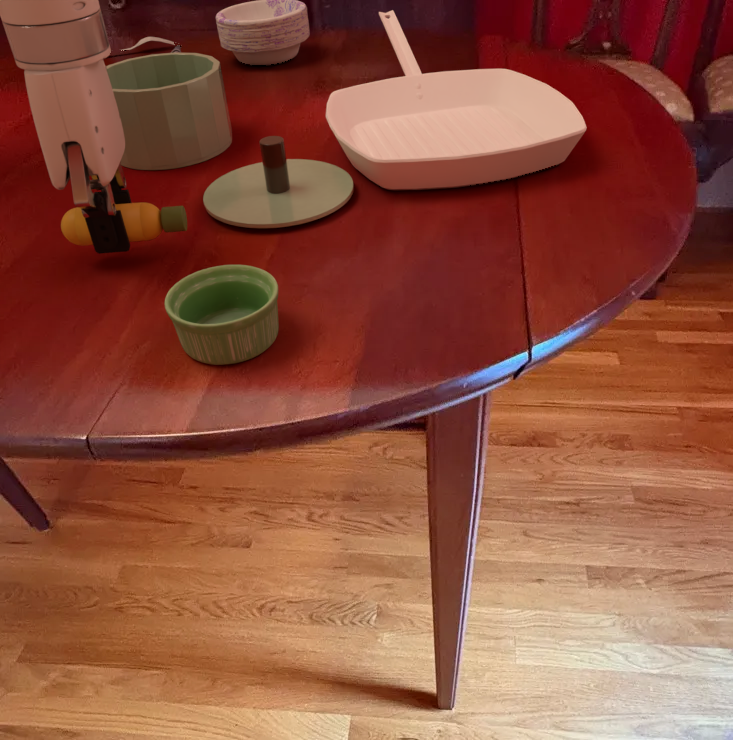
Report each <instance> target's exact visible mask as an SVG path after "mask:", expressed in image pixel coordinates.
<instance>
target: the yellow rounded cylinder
mask: <svg viewBox="0 0 733 740" xmlns="http://www.w3.org/2000/svg"><path fill="white" fill-rule="evenodd" d="M115 206H116V210H121V214H122V217H123V221H124V225H125V228H126V232H127V235H128V239H129V242H130V243H135V242H146V241H147V242H148V241H152V240H154V239H156V238H158V237H159V236H160V235H161V234H162V232H164V233H165V234H168V233H179V232H180V233H181V232H186V231H188V218H187V211H186V209H185V206H184V205H172V206H162V207H161V209H159V207H157V206H156V205H154V204H153V203H150V202H145V201H144V202H132V203H127V204H115ZM60 229H61V232H62V235H63V237H64V238H65V239H66V240H67V241H68V242H69V243H71V244H73V245H75V246H81V247H83V246H84V247H85V246H93V243H92V239H91V236H90V233H89V230H88V227H87V224H86V221H85V218H84V217H83V214H82V211H81V208H78V207H73V208H71V209H69V210H67V211H66V212H65V213H64V215H63V216H62V218H61V220H60Z"/></svg>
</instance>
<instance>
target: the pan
mask: <svg viewBox="0 0 733 740" xmlns="http://www.w3.org/2000/svg"><path fill="white" fill-rule="evenodd" d="M378 16H379V18H380V20H381V22H382V25H383V27H384V29H385V32H386V34H387V36H388V39H389V41H390V44H391V46H392V48H393V50H394V53H395V55H396V57H397V59H398V62H399V65H400V67H401V69H402V71H403V74H404V75H403V76H398V77H397V76H396V77H391V78H386V79H385V78H384V79H381V80H375V81H371V82H367V83H362V84H356V85H352V86H349V87H344V88H340V89H336V90H334V91H332V92H331V93H330V94H329V97H328V100H327V102H326V106H325V107H326V108H325V119H326V122H327V123H328V125H329V128H330V130H331V132H332V133H333V135H334V136H335V138H336V140H337V142H338V144H339V146H340V147H341V149H342V151H343V152H344V154H345V156H346V157H347V159H348V160H349V162H350V163H351V166H353V167H354V168H355V169H356V170H357V171H359V172H360V173H361V174H362V175H363V176H364V177H366V178H367V179H368V180H370V181H371V182H373V183H374V184H376V185H377V186H380V187H381V188H382V189H384V190H388V191H421V190H422V191H423V190H424V191H425V190H439V189H441V190H442V189H455V188H462V187H470V185H471V186H477V185H476V184H479V185H484V184H483V183H485V184H489V183H488V182H491V183H495V182H494V181H497V182H501V181H500V180H502V181H507V180H506V179H508V180H512V179H516V178H519V177H523V176H526V175H525V174H527V175H529V173H530V174H534V173H537V172H536V171H538V172H540V171H539V170H541V171H543V170H542V169H544V170H546V169H545V168H547V169H549V168H548V167H550V168H552V167H551V166H553V167H555V166H554V165H556V166H558V165H560V164H562V163H564V162H565V161H566V159H567V158H568V157H569V156H570V154H571V152H572V151H573V150H574V148H575V147H576V145H578V143H579V141H580V140H581V139H582V137H583V135H584V134H585V132H586V131H587V128H588V127H587V124H586V121H585V119H584V117H583V115H582V114H581V112H580V111H579V109H578V108H577V106H576V105H575V103H574V102H573V101H572V100H570V99H569V98H568V97H567V96H565V95H564V94H562V93H561V91H558V90H557V89H556V88H553V86H550V85H549V84H547V83H546V82H542V81H541V80H538V79H535V78H533V77H531V76H528V75H526V74H525V73H524V74H523V73H522V72H518V71H515V70H512V69H507V68H477V69H461V70H460V69H459V70H443V71H436V72H426V73H422V71H421V69H420V66H419V64H418V62H417V60H416V59H417V58H415V55H414V53H413V50H412V48H411V46H410V44H409V42H408V39H407V37H406V35H405V33H404V31H403V29H402V26H401V24H400V22H399V19H398V17H397V16H396V13H395V11H394V10H393V9H392V10H389V11H386V12H383V11H378ZM533 172H534V173H533ZM522 175H523V176H522ZM518 176H519V177H518ZM511 178H512V179H511Z"/></svg>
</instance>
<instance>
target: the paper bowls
mask: <svg viewBox="0 0 733 740" xmlns="http://www.w3.org/2000/svg"><path fill="white" fill-rule="evenodd" d="M215 23H216V28H217V29H216V30H217V34H218V38H219V41H220V47H221V48H223V49H225V50H227V51H231V52H232V53H233V56H234V57H235V58H236V59H237V61H238V62H239V63H241V62H242V63H241V64H243V63H245V64H244V65H246V64H250V65H249V66H252V65H266V66H272V65H271V64H274V65H278V64H277V63H279V64H283V63H286V62H288V60H289V61H290V59H291V60H292V59H294V58H295V57H296V56H297V55H298V53H299V51H300V48H301V44H302V43H304V42H305V41H306V40H307V39H308V38H309V37H310V36H311V35H310V32H311V31H310V23H309V15H308V7H307V5H306V4H305V2H303V1H300V0H252V1H247V2H242V3H238V4H234V5H231V6H228V7H225V8H224V9H221V10H219V11H218V12H217V13H216V15H215ZM285 61H286V62H285ZM282 62H283V63H282Z"/></svg>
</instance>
